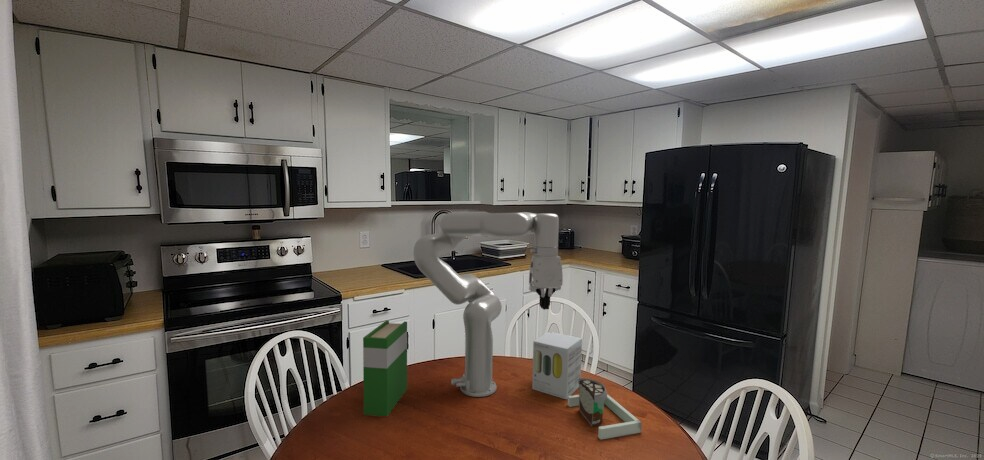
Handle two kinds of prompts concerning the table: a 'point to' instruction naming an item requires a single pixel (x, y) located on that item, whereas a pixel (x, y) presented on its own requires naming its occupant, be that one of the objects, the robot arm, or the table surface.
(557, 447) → the table surface
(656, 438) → the table surface
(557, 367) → the supplement box
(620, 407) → the bay
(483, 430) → the table surface
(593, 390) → the food container
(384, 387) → the hardback book
